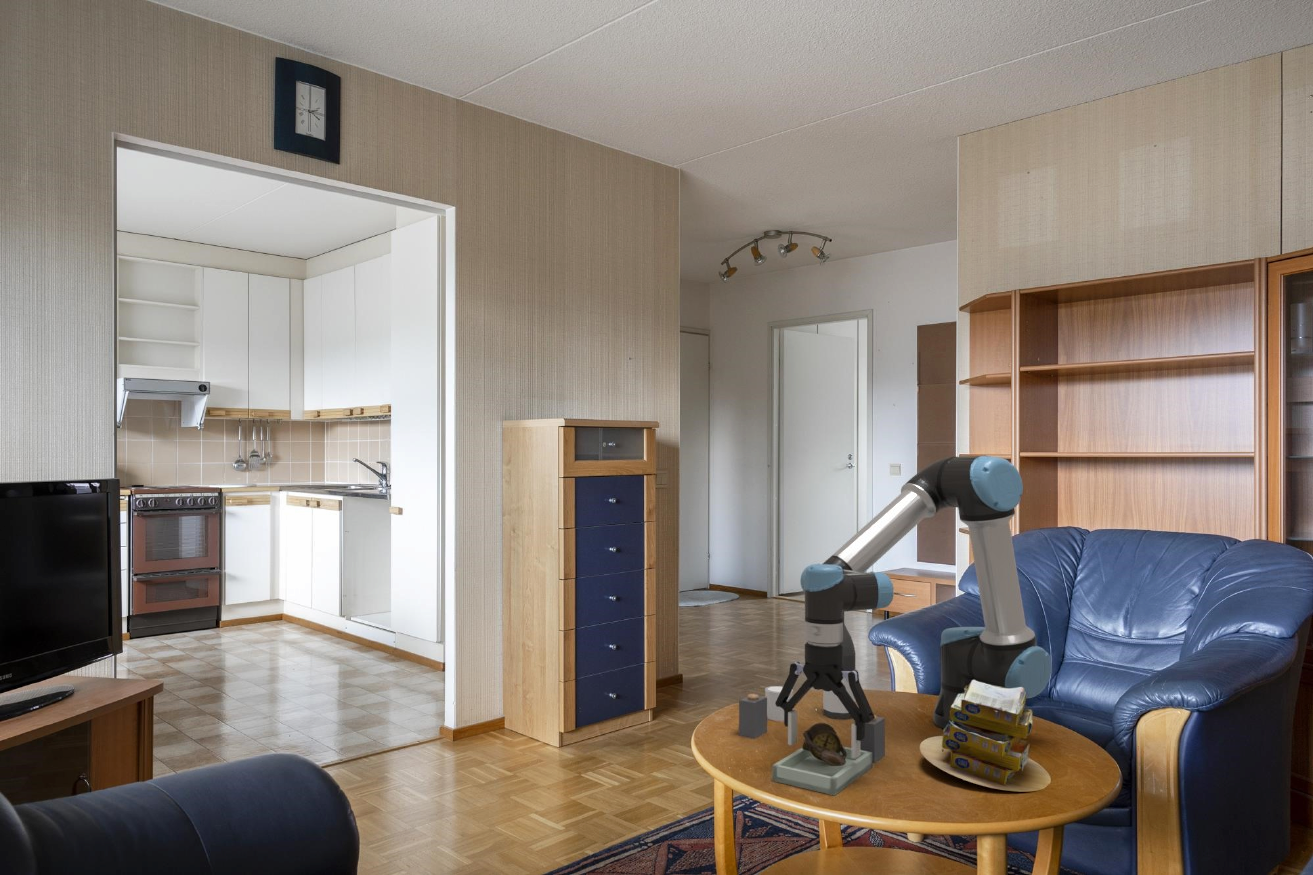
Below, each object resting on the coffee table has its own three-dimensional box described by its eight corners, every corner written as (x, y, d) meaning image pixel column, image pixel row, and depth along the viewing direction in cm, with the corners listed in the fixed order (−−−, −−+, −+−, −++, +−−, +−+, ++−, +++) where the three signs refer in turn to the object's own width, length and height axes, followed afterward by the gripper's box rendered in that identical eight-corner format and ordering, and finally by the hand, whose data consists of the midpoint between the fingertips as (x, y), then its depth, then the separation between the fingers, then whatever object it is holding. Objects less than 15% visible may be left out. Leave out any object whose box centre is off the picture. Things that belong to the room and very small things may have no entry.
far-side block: (766, 732, 202) (767, 693, 203) (754, 738, 197) (754, 699, 198) (751, 729, 205) (751, 691, 205) (739, 735, 200) (739, 696, 200)
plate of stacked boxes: (1068, 770, 178) (1068, 687, 179) (1022, 804, 160) (1021, 712, 160) (952, 743, 195) (952, 668, 195) (898, 771, 177) (898, 687, 177)
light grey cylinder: (795, 722, 210) (795, 692, 211) (766, 721, 210) (766, 692, 211) (791, 713, 217) (791, 685, 217) (763, 713, 217) (763, 685, 218)
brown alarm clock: (857, 735, 181) (810, 717, 184) (853, 733, 169) (803, 714, 173) (847, 770, 179) (800, 751, 183) (842, 770, 168) (792, 750, 171)
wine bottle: (816, 715, 216) (816, 592, 217) (833, 708, 222) (833, 589, 223) (845, 721, 211) (845, 596, 212) (862, 714, 217) (862, 592, 218)
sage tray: (872, 767, 179) (872, 752, 179) (834, 795, 163) (834, 779, 164) (813, 754, 186) (813, 740, 187) (772, 780, 171) (772, 765, 171)
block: (884, 755, 186) (884, 714, 187) (874, 763, 181) (874, 720, 182) (866, 752, 189) (866, 710, 189) (856, 759, 184) (856, 717, 184)
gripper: (759, 638, 180) (759, 742, 179) (876, 653, 166) (877, 767, 165) (776, 632, 186) (776, 733, 185) (890, 647, 172) (891, 756, 171)
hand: (823, 749), depth 175 cm, fingers open, 13 cm apart
